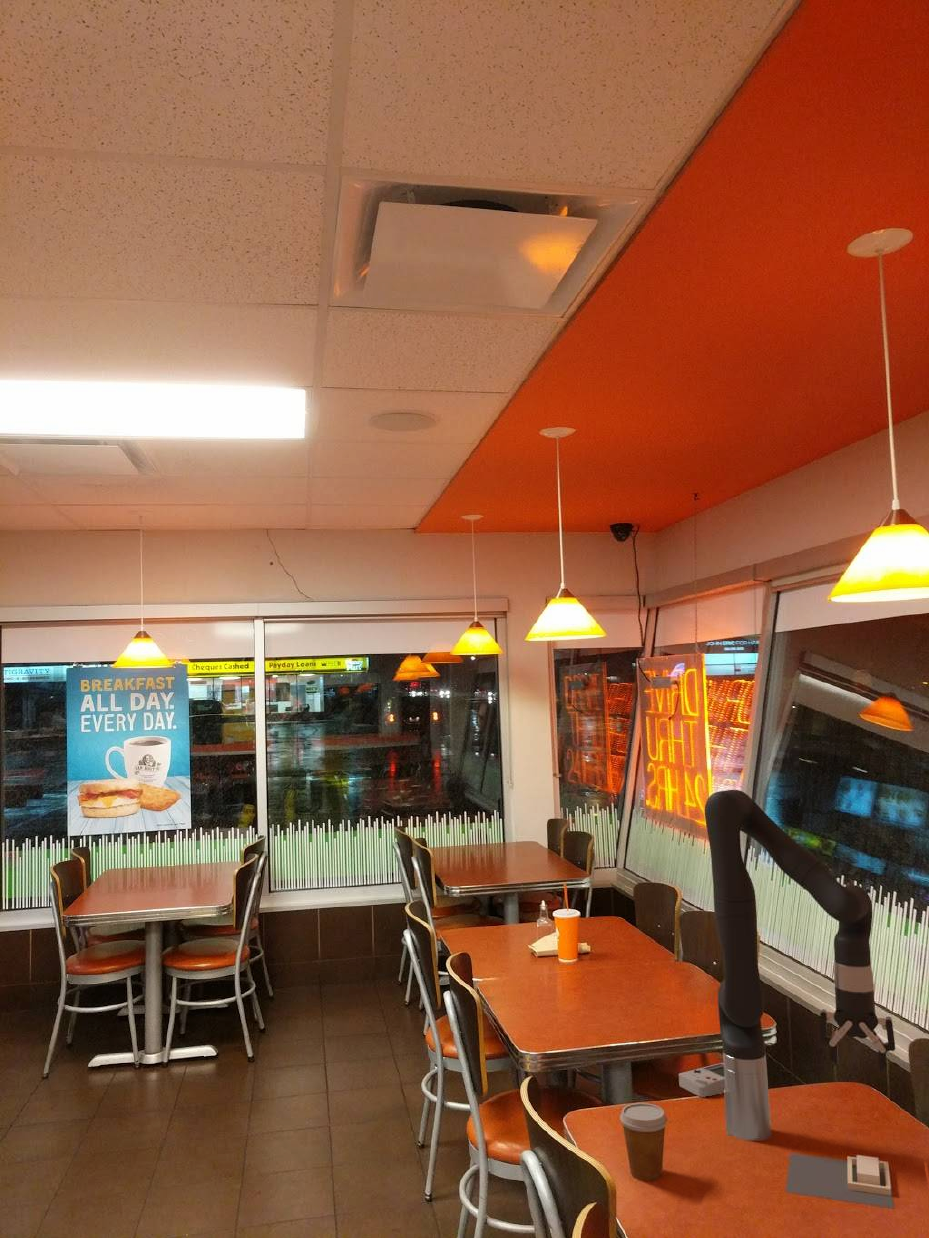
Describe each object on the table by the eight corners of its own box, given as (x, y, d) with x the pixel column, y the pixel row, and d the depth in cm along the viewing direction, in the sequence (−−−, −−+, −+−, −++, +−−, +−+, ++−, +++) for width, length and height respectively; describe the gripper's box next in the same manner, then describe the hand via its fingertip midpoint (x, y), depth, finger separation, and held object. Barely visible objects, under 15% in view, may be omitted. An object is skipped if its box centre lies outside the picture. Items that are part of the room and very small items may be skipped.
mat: (785, 1194, 175) (785, 1185, 175) (790, 1155, 191) (789, 1146, 191) (894, 1211, 168) (893, 1201, 168) (889, 1169, 184) (888, 1160, 184)
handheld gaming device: (678, 1088, 229) (678, 1072, 230) (723, 1076, 236) (722, 1061, 236) (702, 1101, 221) (701, 1084, 222) (748, 1088, 228) (747, 1072, 228)
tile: (857, 1167, 184) (856, 1154, 184) (879, 1170, 182) (878, 1157, 182) (858, 1186, 176) (856, 1172, 177) (880, 1189, 175) (879, 1176, 175)
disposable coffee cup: (672, 1165, 188) (669, 1104, 190) (667, 1187, 179) (663, 1123, 181) (626, 1160, 191) (623, 1100, 193) (619, 1181, 182) (616, 1118, 184)
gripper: (891, 984, 189) (896, 1066, 187) (818, 977, 195) (822, 1056, 193) (891, 994, 183) (897, 1079, 181) (816, 986, 188) (820, 1068, 186)
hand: (858, 1067), depth 187 cm, fingers open, 8 cm apart
